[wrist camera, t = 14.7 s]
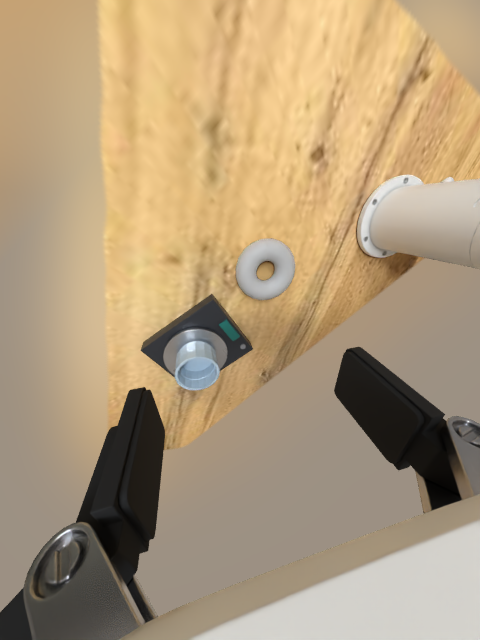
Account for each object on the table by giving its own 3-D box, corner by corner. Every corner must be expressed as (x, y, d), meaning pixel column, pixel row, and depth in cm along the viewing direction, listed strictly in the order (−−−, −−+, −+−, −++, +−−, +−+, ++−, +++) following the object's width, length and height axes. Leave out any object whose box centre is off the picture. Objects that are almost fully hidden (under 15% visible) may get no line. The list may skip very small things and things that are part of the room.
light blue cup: (200, 333, 34) (201, 349, 30) (223, 357, 37) (227, 374, 33) (167, 355, 34) (165, 374, 31) (193, 377, 38) (194, 396, 34)
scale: (211, 293, 35) (213, 300, 32) (249, 341, 41) (253, 350, 39) (143, 342, 36) (140, 351, 34) (190, 381, 43) (190, 391, 40)
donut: (249, 305, 38) (297, 277, 37) (254, 313, 35) (307, 283, 34) (222, 257, 33) (277, 224, 32) (225, 262, 30) (286, 226, 29)
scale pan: (202, 314, 33) (202, 317, 33) (237, 355, 39) (238, 358, 38) (149, 351, 34) (148, 354, 34) (191, 386, 40) (191, 389, 39)
